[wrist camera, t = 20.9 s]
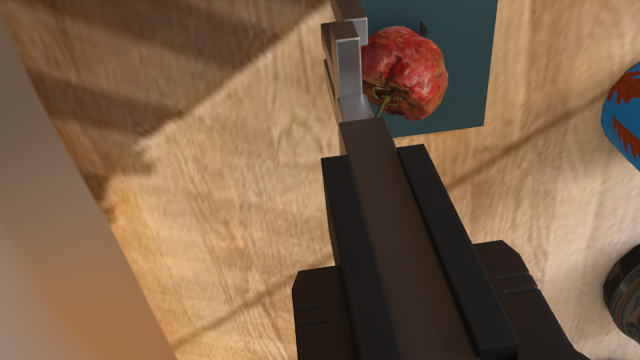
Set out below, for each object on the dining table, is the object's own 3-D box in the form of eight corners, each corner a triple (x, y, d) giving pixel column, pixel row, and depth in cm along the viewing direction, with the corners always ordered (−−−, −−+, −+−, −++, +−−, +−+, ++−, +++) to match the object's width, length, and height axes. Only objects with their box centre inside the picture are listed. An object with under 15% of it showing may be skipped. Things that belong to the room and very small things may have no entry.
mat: (338, -69, 38) (339, -68, 38) (505, -89, 39) (508, -88, 38) (350, 141, 49) (351, 143, 49) (482, 123, 50) (483, 126, 49)
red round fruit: (331, 137, 44) (381, 47, 47) (414, 170, 42) (459, 73, 45) (323, 85, 37) (382, -16, 40) (422, 121, 35) (474, 13, 39)
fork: (308, -16, 21) (484, 582, 6) (349, -21, 21) (632, 558, 6) (321, 111, 24) (449, 684, 9) (355, 106, 25) (539, 669, 9)
